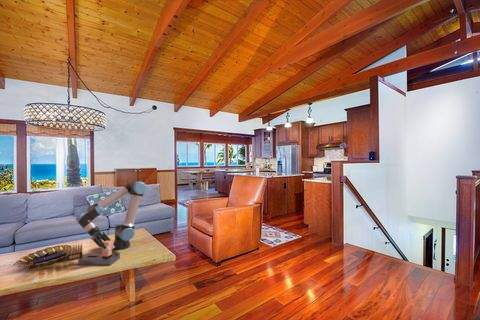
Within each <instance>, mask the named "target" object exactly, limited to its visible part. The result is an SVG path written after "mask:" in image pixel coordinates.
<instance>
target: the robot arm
mask: <svg viewBox="0 0 480 320" xmlns="http://www.w3.org/2000/svg"><path fill="white" fill-rule="evenodd" d="M146 192H147V185H146V183H144V182H143V181H140V180H139V181H138V180H134V181H131V182H130V183H128V184H126V185H124V186H123V187H122V188H121V189H119V190H118V191H116V192H113V193H111V194H110V195H109V196H106V197H105V198H103V199H102V200H100V201H97V202H96V203H95V204H91V205H89V206H88V207H87V208H86V211H87V213H85V212H82V213H80V214H78V215H77V216H76V217H75V221H76V222H77V224H79V226H81V228H83V230H84V231H86V233H87V234H89V236H91V237H90V239H91V240H92V241H93V242H94V243H95V244H96V245H97V246H98V247H99V248H102V247H103V248H104V249H105V250H106V251H107V252H109V251H110V248H109V247H108V246H107V245H106V244H104V243H103V242H104V241H112V240H111V238H110V237H109V236H108V235H107V234H106V233H105V231H102V232H101V231H100V228H99V227H98V226H97V225H96V224H95V222H94V221H93V220H96V218H98V217H99V216H100V215H103V213H104V212H105V209H106V208H107V207H109V206H111V205H112V204H114V203H116V202H117V201H119V200H121V199H123V198H124V197H126V196H130V198H129V203H128V205H127V210H126V214H125V217H124V221H123V222H118V223H116V224H114V241H113V242H112V250H113V251H115V250H116V251H119V250H120V251H121V250H126V249H128V248H130V247H131V242H130V240H131V239H133V238H134V237H135V234H136V232H135V227H136V225H135V221H136V217H137V213H138V210H139V205H140V201H141V199H142V198H143V197H144V194H145V193H146ZM125 248H126V249H125Z"/></svg>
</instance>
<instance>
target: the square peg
mask: <svg viewBox="0 0 480 320" xmlns="http://www.w3.org/2000/svg"><path fill="white" fill-rule="evenodd" d="M103 243H104V244H106V245H107V246H108V247H109V248H110V251H109V252H107V251H106V250H105V249H104V248H103V247H101V253H102V256H109V255H111V254H113V251H112V250H113V249H112V245H113V240H111V241H103Z"/></svg>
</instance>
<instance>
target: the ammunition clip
mask: <svg viewBox="0 0 480 320" xmlns="http://www.w3.org/2000/svg"><path fill="white" fill-rule="evenodd" d="M82 257H83V244H82V243H80V244H78V245H77V244H75V245H74V244H73V246H72V245H70V246H69V245H67V250H66V262H70V261H74V260H79V259H81V258H82Z"/></svg>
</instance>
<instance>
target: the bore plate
mask: <svg viewBox="0 0 480 320" xmlns="http://www.w3.org/2000/svg"><path fill="white" fill-rule="evenodd" d="M119 259H121V254H120V253H112V254H111V255H109V256H102V252H101V253H100V252H99V253H96V252H95V253H93V252H91V253H87V254H86V255H85V256H82V258H80V259H77V265H78V266H112V265H113V264H114V263H116V262H117V261H118V260H119Z"/></svg>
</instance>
